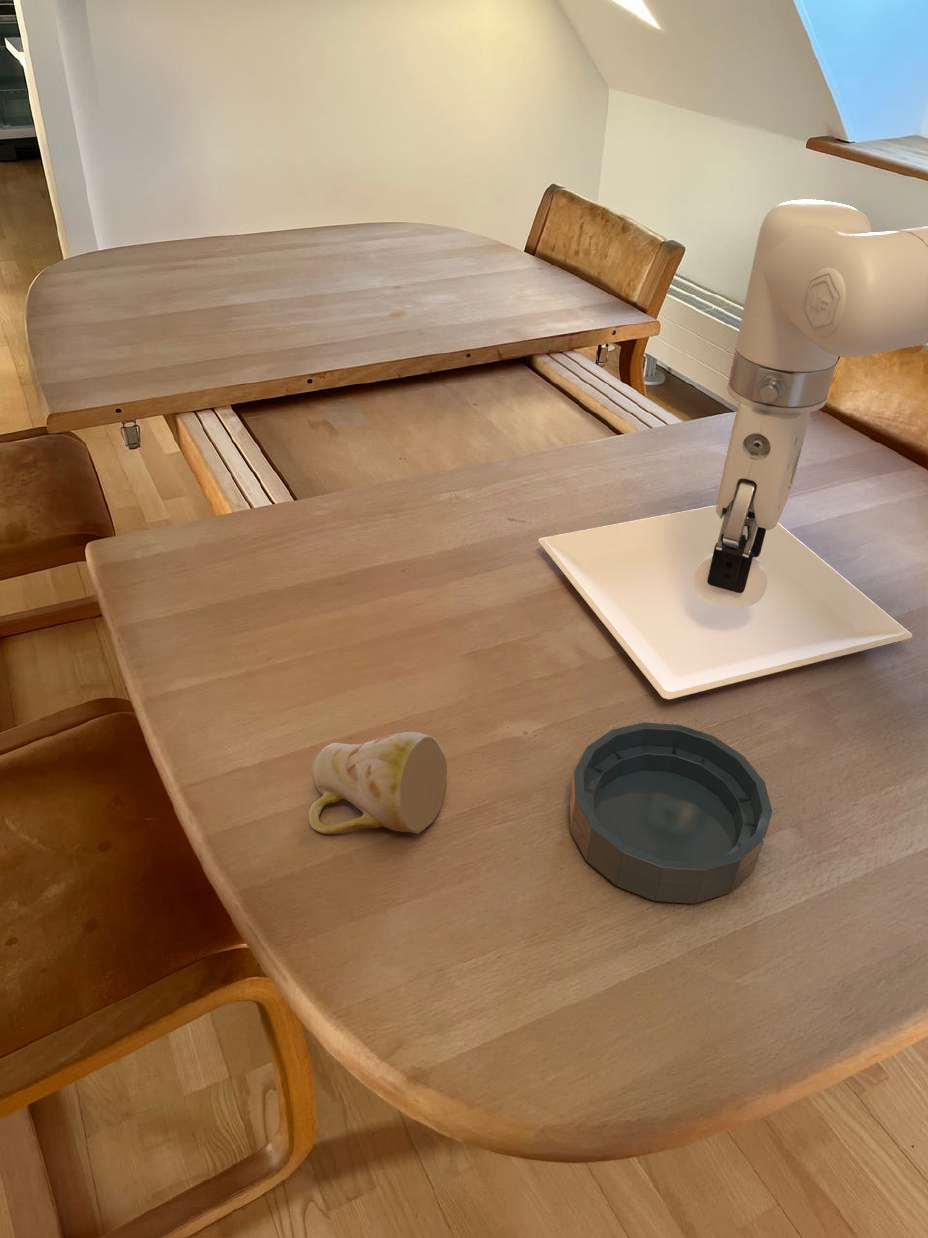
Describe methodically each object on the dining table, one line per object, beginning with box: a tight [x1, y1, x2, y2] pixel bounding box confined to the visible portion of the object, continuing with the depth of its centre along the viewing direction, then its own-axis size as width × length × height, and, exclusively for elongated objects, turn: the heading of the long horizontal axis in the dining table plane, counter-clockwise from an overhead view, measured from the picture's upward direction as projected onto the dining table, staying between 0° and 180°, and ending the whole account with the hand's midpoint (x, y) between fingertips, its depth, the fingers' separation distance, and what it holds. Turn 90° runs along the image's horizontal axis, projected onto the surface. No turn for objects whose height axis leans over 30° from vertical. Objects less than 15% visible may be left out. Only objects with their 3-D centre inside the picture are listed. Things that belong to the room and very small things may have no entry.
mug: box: [308, 731, 448, 835], centre depth 68 cm, size 8×10×10 cm
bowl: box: [569, 721, 773, 904], centre depth 68 cm, size 14×14×4 cm
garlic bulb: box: [694, 526, 767, 608], centre depth 83 cm, size 6×6×8 cm
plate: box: [537, 504, 913, 701], centre depth 92 cm, size 26×26×2 cm
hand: (734, 567), depth 83 cm, fingers closed on garlic bulb, 5 cm apart
